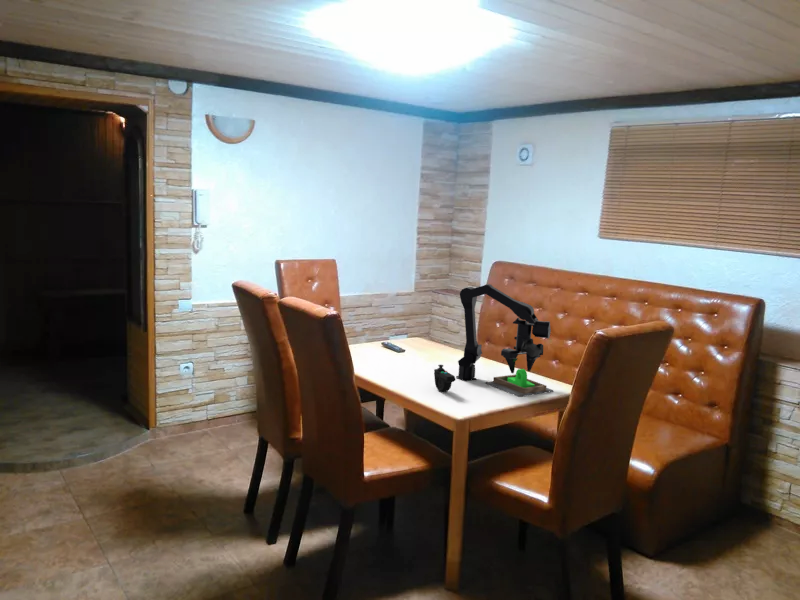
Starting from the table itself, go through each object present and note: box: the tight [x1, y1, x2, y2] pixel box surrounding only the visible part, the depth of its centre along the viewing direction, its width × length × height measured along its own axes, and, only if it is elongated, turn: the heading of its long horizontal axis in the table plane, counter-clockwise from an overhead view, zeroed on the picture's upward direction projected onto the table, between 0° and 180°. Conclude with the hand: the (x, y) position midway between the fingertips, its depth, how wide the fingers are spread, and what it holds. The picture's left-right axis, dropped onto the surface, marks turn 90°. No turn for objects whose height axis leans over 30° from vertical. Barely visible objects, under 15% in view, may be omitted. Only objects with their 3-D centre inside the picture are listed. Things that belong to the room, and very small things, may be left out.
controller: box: [433, 364, 456, 393], centre depth 244 cm, size 4×12×10 cm, turn 24°
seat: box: [485, 373, 554, 398], centre depth 257 cm, size 19×20×3 cm
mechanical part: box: [507, 368, 535, 388], centre depth 257 cm, size 12×6×8 cm, turn 19°
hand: (520, 372), depth 256 cm, fingers open, 9 cm apart
